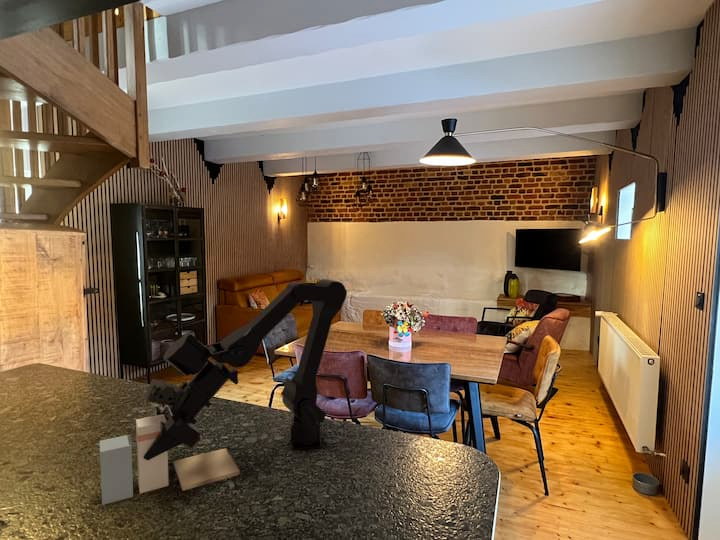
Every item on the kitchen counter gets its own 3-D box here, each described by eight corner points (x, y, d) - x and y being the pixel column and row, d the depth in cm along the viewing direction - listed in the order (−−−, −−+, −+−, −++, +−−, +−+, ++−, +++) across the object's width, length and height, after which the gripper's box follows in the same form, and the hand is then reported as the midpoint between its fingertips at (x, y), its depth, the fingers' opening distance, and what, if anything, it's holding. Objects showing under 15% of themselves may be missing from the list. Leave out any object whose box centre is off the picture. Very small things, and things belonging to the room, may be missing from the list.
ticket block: (131, 483, 85) (129, 433, 84) (133, 496, 81) (131, 444, 80) (101, 491, 82) (99, 439, 81) (102, 505, 78) (99, 451, 77)
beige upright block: (165, 475, 88) (163, 414, 86) (168, 485, 84) (166, 421, 83) (137, 482, 85) (135, 419, 84) (139, 493, 82) (137, 427, 80)
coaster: (225, 451, 98) (225, 448, 98) (239, 474, 88) (239, 470, 88) (173, 464, 92) (173, 461, 92) (182, 490, 83) (182, 486, 82)
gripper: (165, 353, 93) (107, 414, 88) (179, 378, 77) (110, 453, 72) (203, 383, 97) (151, 442, 93) (225, 412, 82) (163, 485, 77)
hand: (144, 453), depth 83 cm, fingers closed on beige upright block, 4 cm apart
